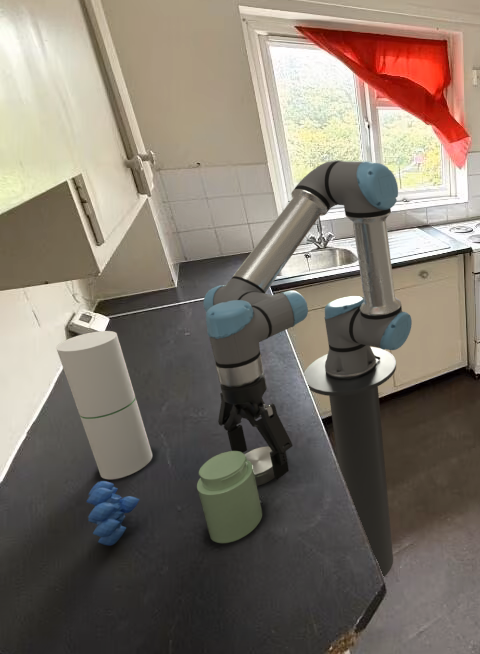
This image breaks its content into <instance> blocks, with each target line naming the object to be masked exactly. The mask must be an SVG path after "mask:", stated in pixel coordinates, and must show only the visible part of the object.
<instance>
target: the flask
mask: <svg viewBox="0 0 480 654" xmlns="http://www.w3.org/2000/svg"><path fill="white" fill-rule="evenodd" d="M198 476H199V477H200V478H199V479H198V481H197V483H196V489H197V494H198V497H199V500H200V501H199V502H200V504H201V510H202V513H203V516H204V520H205V524H206V528H207V531H208V535H209V538H210V539H211V541H212V542H215V543H217V544H229V543H233V542H236V541H239V540H240V539H242V538H244V537H246V536H247V535H249V534H250V533H251V532H253V531H254V530H255V529H256V528H257V526H258V525H259V524H260V522H261V520H262V518H263V509H262V508H263V507H262V504H261V500H260V494H259V489H258V486H257V484H256V479H255V474H254V470H253V465H252V463H251V462H250V461H248V460H247V459H246V456H245V453H244V452H243V453H242V452H239V451H232V450H230V451H226V452H221V453H219V454H217V455H214V456H212V457H211V458H209V459H208V460H206V461H205V462H204V463H203V464H202V465H201V467H200V468H199V470H198Z"/></svg>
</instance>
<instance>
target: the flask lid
mask: <svg viewBox="0 0 480 654" xmlns="http://www.w3.org/2000/svg"><path fill="white" fill-rule="evenodd" d="M271 451H272V450H271V449H270V447H269V446H261V447H257V448H255V449H251V450H250V451H247V452H246V453H244V455H245V456H246V459H247V460H248V461H250V462H251V463H252V465H253V470H254V474H255V479H256V484H257V487H259V486H261V485H265V484H267V483H269V482H270V481H272V480H274V479H275V477H274V472H273V467H272V462H271V457H270V452H271Z"/></svg>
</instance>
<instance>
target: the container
mask: <svg viewBox="0 0 480 654" xmlns="http://www.w3.org/2000/svg"><path fill="white" fill-rule="evenodd" d="M55 349H56V352H57V355H58V357H59V361H60V363H61V366H62V369H63V371H64V374H65V377H66V380H67V383H68V386H69V389H70V391H71V394H72V397H73V401H74V404H75V406H76V409H77V412H78V415H79V417H80V421H81V424H82V427H83V430H84V432H85V434H86V438H87V440H88V443H89V446H90V450H91V452H92V455H93V458H94V461H95V464H96V467H97V469H98V472H99V475H100V478H102V479H103V480H119V479H122V478H125V477H127V476H130V475H132V474H134V473H137V472H138V471H140V470H142V469H143V468H145V467H146V466H147V465H148V464H149V463H150V462H151V461H152V459H153V451H152V448H151V446H150V441H149V439H148V435H147V432H146V428H145V425H144V421H143V418H142V414H141V411H140V408H139V405H138V401H137V398H136V394H135V391H134V388H133V385H132V379H131V378H130V374H129V371H128V367H127V363H126V360H125V356H124V353H123V350H122V347H121V343H120V339H119V336H118V333H117V332H116V331H111V330H101V331H100V330H99V331H93V332H87V333H83V334H79V335H75V336H73V337H70V338H68V339H65V340H63V341H61V342H60V343H58V344H57V345H56V347H55Z"/></svg>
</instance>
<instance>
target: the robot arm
mask: <svg viewBox="0 0 480 654" xmlns="http://www.w3.org/2000/svg"><path fill="white" fill-rule="evenodd" d="M290 196H291V200H290V201H289V203H287V205H286V206H285V208H283V210H282V211H281V213H280V214H279V215H278V216H277V218H276V219H275V220H274V222H273V223H272V224H271V225H270V226H269V228H268V229H267V231H265V234H264V235H263V236H262V237H261V238H260V240H259V242H258V243H256V244H255V247H254V248H253V249H252V250H251V252H250V253H249V255H248V256H247V257H246V259H245V260H244V261H243V263H242V264H241V265H240V266H239V268H238V269H237V270H236V271H235V273H234V274H233V275H232V276H231V279H229V281H228V282H227V283H226V285H225V284H222V285H216V286H214V287H212V288H210V289H209V290H208V291H207V292H206V294H205V295H204V298H203V301H202V302H203V303H202V304H203V309H204V311H205V325H206V332H207V333H206V334H207V336H208V338H209V342H210V347H211V351H212V354H213V359H214V363H215V369H216V374H217V378H218V382H219V383H220V390H221V392H220V394H219V395H220V407H219V412H218V413H219V414H218V420H217V423H218V425H219V426H223V429H224V430H225V431H226V432H227V436H228V441H229V445H230V451H239V452H242V453H243V454H244V453H245V452H246V451H248V446H247V442H246V438H245V432H244V428H243V425H242V424H241V423H242V422H243V421H242V419H246V420H247V421H248V422H249V424H250V425H251V427H253V428H256V430H257V431H258V432H259V435H261V437H262V438H263V440H264V441H265V443H266V444H267V447H270V449H271V450H272V451H271V452H270V457H271V462H272V467H273V472H274V477H275V478H274V479H275V480H279V479H280V478H281V477H283V476H284V475H286V473H288V472H289V471H290V469H289V463H288V457H287V456H288V455H287V451H288V450H290V449H291V448H292V447H293V446H294V445H293V443H292V441H291V439H290V437H289V435H288V433H287V431H286V428H285V426H284V424H283V423H282V421H281V419H280V416H279V415H278V410H277V407H276V405H275V403H274V402H272V403H270V404H268V405H267V404H266V403H265V401H264V399H263V397H264V395H265V393H266V391H267V389H268V385H267V381H266V380H267V379H266V374H265V373H264V366H263V361H262V353H261V347H260V343H261V342H263V341H266V340H267V339H269V338H271V337H274V336H276V335H278V334H281V333H282V332H284V331H286V330H289V329H291V328H293V327H295V326H296V325H298V324H299V323H301V322H303V321H305V320H306V319H307V317H308V314H309V308H308V307H309V306H308V302H307V301H306V298H305V297H304V296H303V295H302V294H301V293H300V292H298V291H296V290H287V291H281V292H280V293H278V294H269V293H267V292H268V290H269V289H270V287H271V286H272V284H273V283H274V282H275V280H276V279H277V277H278V276H279V274H280V273H281V271H282V270H283V269H284V267H285V266H286V264H287V263H288V262H289V260H290V259H291V257H292V256H293V255H294V253H295V252H296V250H297V249H298V247H299V246H300V245H301V243H302V242H303V241H304V239H305V238H306V236H307V235H308V234H309V232H310V231H311V229H312V228H313V226H314V225H315V223H316V222H317V221H318V219H319V218H320V217H322V216H323V217H324V216H326V215H327V214H328V212H329V211H330V209H331V208H333V207H335V206H343V208H344V214H345V217H346V218H347V219H348V220H350V221H351V222H352V227H353V233H354V240H355V241H354V242H355V246H356V248H355V249H356V254H357V261H358V268H359V275H360V281H361V287H362V295H363V296H359V295H351V296H345V297H340V298H337V299H334V300H332V301H330V302H328V303H327V304H326V305H325V307H324V323H325V330H326V336H327V342H328V351H327V354H328V356H327V359H326V361H325V363H326V364H325V371H326V375H327V376H328V377H330V378H332V379H336V380H352V379H356V378H360V377H363V376H365V375H367V374H369V373H370V372H372V371H373V370H374V369H375V367H376V359H378V360H380V357H378V356H376V355H374V353H373V351H372V349H371V347H374V348H380V349H383V350H386V351H388V350H389V351H396V350H398V349H400V348H402V346H404V344H405V343H406V342H407V340H408V338H409V336H410V333H411V331H412V330H411V329H412V322H413V321H412V316H411V315H410V314H409V313H408V312H407V311H403V307H402V302H401V300H400V299H399V298H397V297H396V294H395V293H396V292H395V285H394V277H393V276H394V275H393V267H392V258H391V250H390V241H389V234H388V225H387V218H388V217H389V216H390V215H391V214H392V208H393V207H394V206H395V205H396V203H397V201H398V199H397V198H398V196H399V187H398V182H397V179H396V176H395V175H394V173H393V172H392V170H391V169H389V167H388V166H387V165H385V164H383V163H381V162H373V161H368V160H367V161H366V160H365V161H363V160H362V161H361V160H340V159H339V160H335V159H334V160H329V161H326V162H323V163H322V164H319V165H318V166H316V167H315V168H314V169H312V170H311V171H310V172H308V173H307V174H306V175H305V176H304V177H303V178H302V179H301V180H300V181H299V182H298V184H297V185H296V186H295V187H294V189H293V190H292V191H291V194H290Z"/></svg>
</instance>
